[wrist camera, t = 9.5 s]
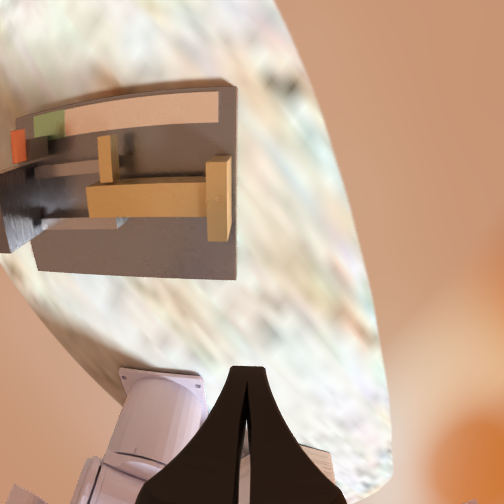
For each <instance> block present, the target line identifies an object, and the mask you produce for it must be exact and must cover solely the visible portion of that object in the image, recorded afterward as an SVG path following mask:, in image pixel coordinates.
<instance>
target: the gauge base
mask: <svg viewBox="0 0 504 504" xmlns="http://www.w3.org/2000/svg"><path fill="white" fill-rule="evenodd" d="M237 113H238V88H237V87H201V88H184V89H171V90H160V91H150V92H141V93H134V94H126V95H119V96H113V97H107V98H101V99H95V100H90V101H85V102H80V103H75V104H70V105H66V106H62V107H57V108H53V109H49V110H45V111H41V112H38V113H34V114H30V115H27V116H23V117H20V118H17V119H16V130H21V129H25V140H27V139H31V138H36V137H42V136H47V138H48V153H49V156H47V157H43V158H40V159H36V160H33V161H29V162H23V163H19V165H17V166H14V167H11V168H8V169H5V170H2V171H0V253H12V252H14V251H15V250H16V249H18V248H19V247H21V246H22V245H24V244H25V243H26V242H28V241H29V240H31V244H32V248H33V253H34V257H35V261H36V265H37V268H38V271H49V272H64V273H80V274H97V275H115V276H135V277H157V278H182V279H211V280H236V277H237ZM115 134H118V156H119V172H120V179H131V178H154V177H191V176H206V162H207V161H208V160H209V159H210V158H212V157H213V156H215V155H232V225H231V229H230V233H229V237H228V241H227V242H212V241H208V236H207V217H108V218H89V211H88V203H87V195H86V187H87V186H89V185H91V184H93V183H95V182H98V181H100V171H99V158H98V140H97V137H100V136H106V135H115Z"/></svg>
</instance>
